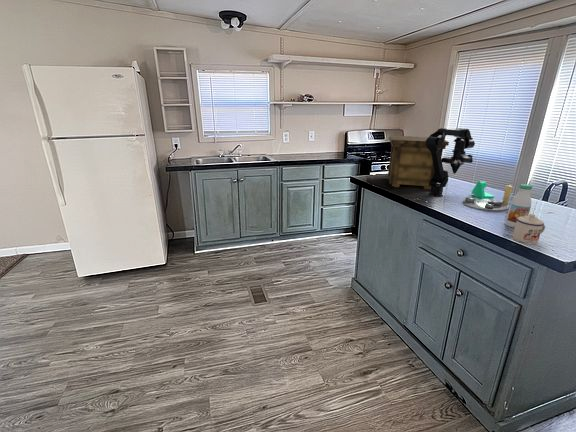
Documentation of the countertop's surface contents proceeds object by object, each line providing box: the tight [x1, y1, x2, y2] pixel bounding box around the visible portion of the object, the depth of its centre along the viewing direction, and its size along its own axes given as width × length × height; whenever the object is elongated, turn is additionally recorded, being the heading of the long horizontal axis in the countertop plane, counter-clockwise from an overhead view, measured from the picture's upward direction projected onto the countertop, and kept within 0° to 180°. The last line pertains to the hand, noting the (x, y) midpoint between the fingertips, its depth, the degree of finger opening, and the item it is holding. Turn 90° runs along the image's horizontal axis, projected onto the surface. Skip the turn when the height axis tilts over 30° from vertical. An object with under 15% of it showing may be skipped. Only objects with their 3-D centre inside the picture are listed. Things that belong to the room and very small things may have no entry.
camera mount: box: [470, 181, 495, 200], centre depth 189 cm, size 12×8×10 cm, turn 178°
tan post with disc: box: [483, 184, 513, 207], centre depth 167 cm, size 16×7×11 cm, turn 103°
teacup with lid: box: [512, 213, 546, 244], centre depth 126 cm, size 12×9×12 cm
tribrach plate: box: [461, 196, 508, 212], centre depth 174 cm, size 22×22×3 cm
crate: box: [387, 135, 450, 190], centre depth 218 cm, size 35×35×33 cm
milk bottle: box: [505, 183, 533, 229], centre depth 140 cm, size 8×8×20 cm
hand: (454, 173), depth 196 cm, fingers closed
